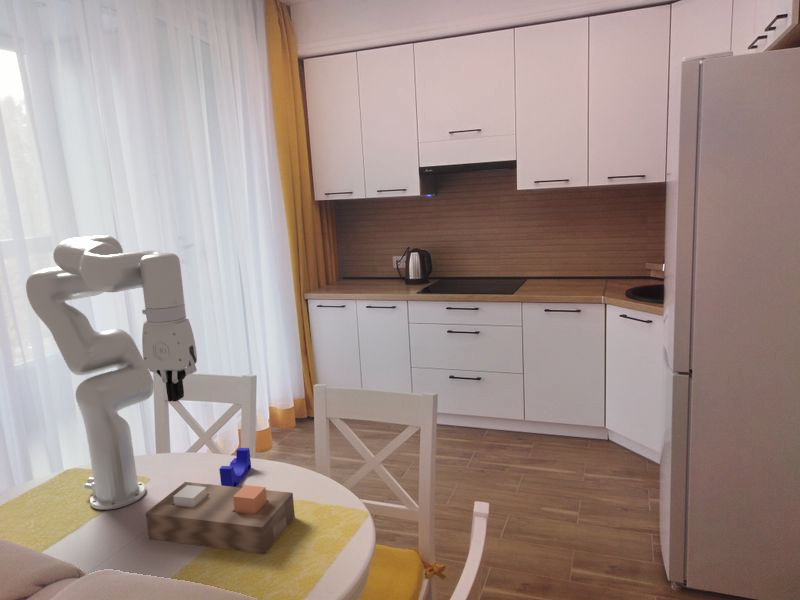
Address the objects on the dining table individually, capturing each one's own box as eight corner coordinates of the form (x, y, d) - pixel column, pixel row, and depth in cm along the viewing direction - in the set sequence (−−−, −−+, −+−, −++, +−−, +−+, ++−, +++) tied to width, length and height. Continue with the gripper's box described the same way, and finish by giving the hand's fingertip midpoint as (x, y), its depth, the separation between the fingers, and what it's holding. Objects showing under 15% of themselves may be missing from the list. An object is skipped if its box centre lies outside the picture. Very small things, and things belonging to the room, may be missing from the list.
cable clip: (235, 468, 160) (233, 447, 158) (251, 468, 159) (249, 447, 158) (216, 490, 148) (213, 468, 147) (233, 491, 147) (230, 468, 146)
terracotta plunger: (236, 528, 127) (232, 496, 125) (248, 516, 131) (245, 485, 130) (257, 531, 125) (254, 498, 124) (268, 518, 130) (265, 487, 129)
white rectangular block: (177, 527, 131) (173, 496, 130) (190, 515, 136) (187, 485, 134) (196, 529, 130) (193, 498, 128) (209, 517, 134) (206, 487, 133)
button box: (148, 538, 128) (145, 513, 127) (188, 505, 141) (185, 481, 140) (264, 554, 120) (262, 527, 119) (294, 517, 134) (292, 492, 132)
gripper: (122, 317, 119) (133, 403, 122) (186, 319, 115) (196, 408, 118) (147, 309, 126) (157, 391, 130) (208, 310, 122) (217, 395, 126)
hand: (176, 399), depth 124 cm, fingers closed
